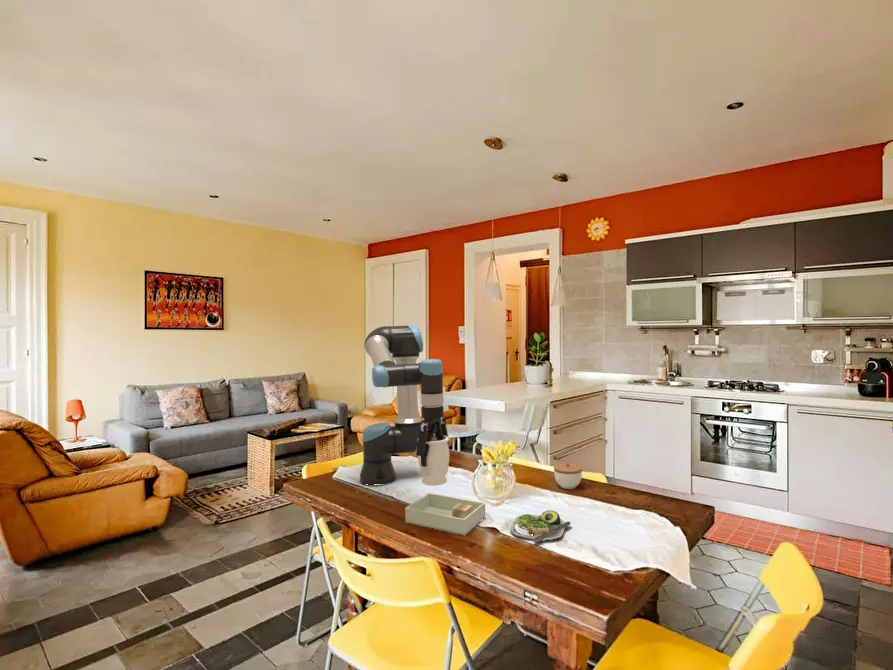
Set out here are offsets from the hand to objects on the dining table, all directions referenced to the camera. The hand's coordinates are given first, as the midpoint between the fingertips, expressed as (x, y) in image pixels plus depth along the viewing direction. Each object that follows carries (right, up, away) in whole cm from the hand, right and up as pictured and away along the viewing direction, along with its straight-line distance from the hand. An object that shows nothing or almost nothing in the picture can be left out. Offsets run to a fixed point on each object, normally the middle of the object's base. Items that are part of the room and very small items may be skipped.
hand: (434, 470), depth 166 cm
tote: (+4, -16, -1) cm, 17 cm away
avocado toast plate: (+34, -16, -10) cm, 39 cm away
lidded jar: (+52, -14, +28) cm, 61 cm away
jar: (0, -4, 0) cm, 4 cm away
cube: (+9, -16, -4) cm, 19 cm away
